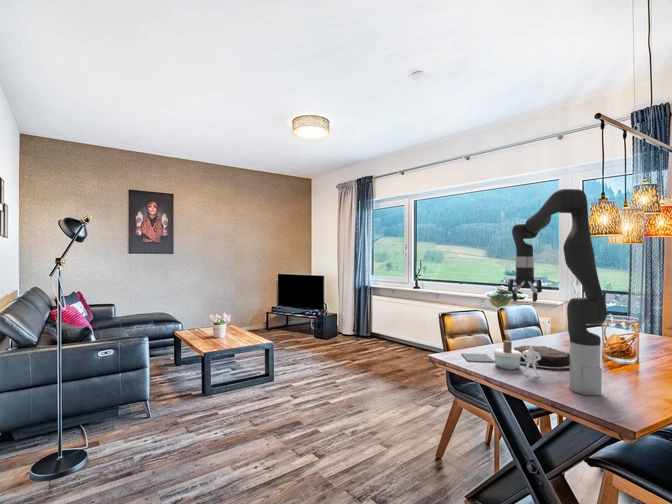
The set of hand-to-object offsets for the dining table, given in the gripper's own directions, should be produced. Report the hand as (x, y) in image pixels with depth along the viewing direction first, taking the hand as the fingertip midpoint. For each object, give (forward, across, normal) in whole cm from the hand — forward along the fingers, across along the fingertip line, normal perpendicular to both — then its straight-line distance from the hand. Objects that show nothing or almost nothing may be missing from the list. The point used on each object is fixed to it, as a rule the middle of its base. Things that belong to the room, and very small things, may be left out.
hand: (524, 301), depth 173 cm
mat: (+27, -22, -2) cm, 34 cm away
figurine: (+27, -8, -24) cm, 37 cm away
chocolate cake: (+27, +6, -2) cm, 28 cm away
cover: (+21, -13, -14) cm, 28 cm away
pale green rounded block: (+27, -13, -14) cm, 33 cm away
